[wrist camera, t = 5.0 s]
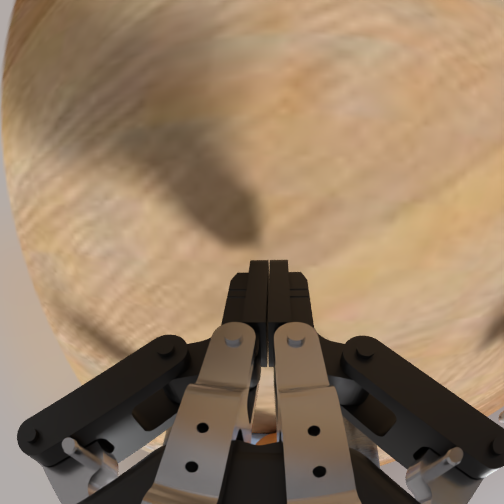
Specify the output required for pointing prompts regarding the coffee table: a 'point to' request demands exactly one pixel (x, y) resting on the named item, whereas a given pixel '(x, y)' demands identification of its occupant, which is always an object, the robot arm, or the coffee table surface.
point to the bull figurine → (501, 417)
